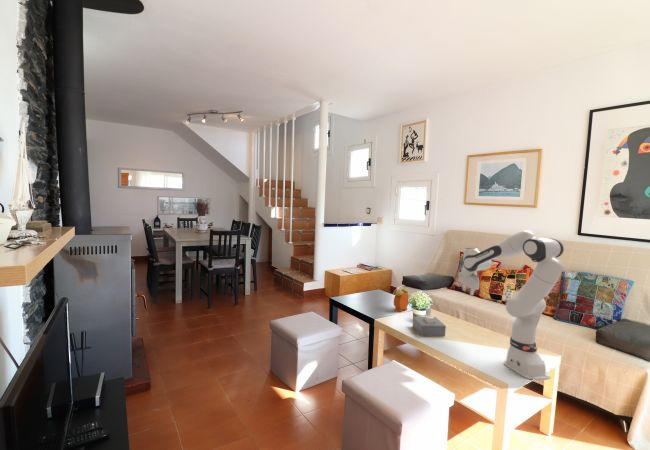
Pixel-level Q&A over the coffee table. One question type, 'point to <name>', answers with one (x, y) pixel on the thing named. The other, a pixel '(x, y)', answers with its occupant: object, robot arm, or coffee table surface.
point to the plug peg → (429, 319)
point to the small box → (428, 311)
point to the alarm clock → (401, 300)
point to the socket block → (429, 327)
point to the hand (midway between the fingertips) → (467, 292)
